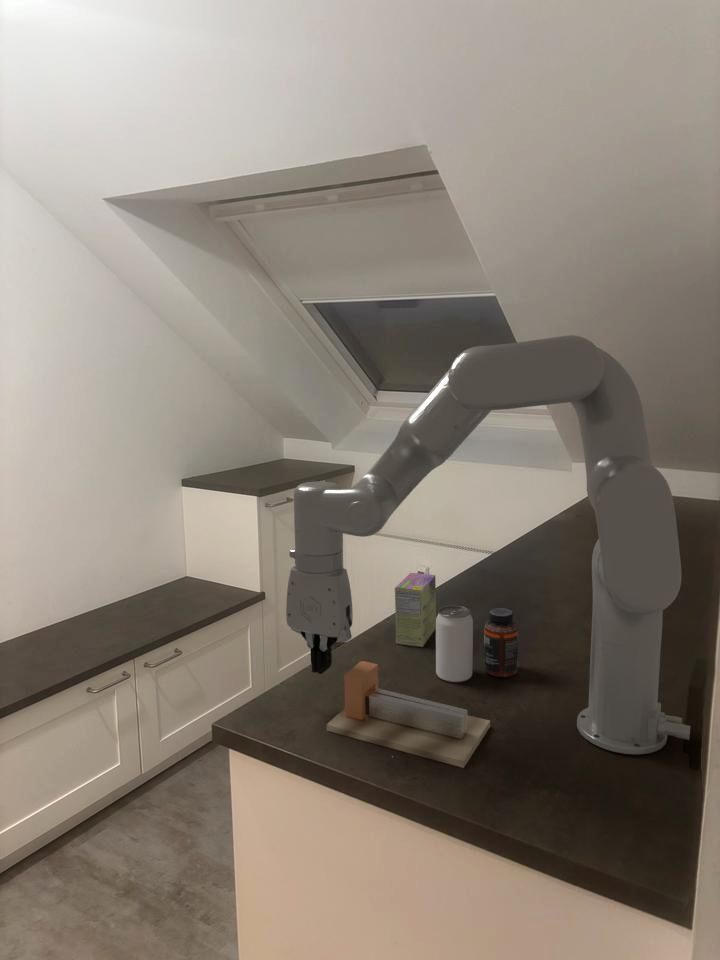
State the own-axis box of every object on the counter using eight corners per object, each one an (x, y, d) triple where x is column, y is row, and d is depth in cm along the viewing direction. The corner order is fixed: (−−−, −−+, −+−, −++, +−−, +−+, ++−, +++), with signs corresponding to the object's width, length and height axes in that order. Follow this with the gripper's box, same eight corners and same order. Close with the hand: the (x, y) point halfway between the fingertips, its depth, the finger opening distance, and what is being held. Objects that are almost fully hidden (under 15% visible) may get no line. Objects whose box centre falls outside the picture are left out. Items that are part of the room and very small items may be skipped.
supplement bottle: (522, 668, 124) (524, 609, 122) (510, 681, 119) (511, 620, 117) (491, 661, 127) (492, 603, 125) (478, 673, 123) (479, 613, 121)
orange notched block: (345, 715, 107) (344, 675, 105) (362, 699, 112) (361, 660, 110) (362, 720, 105) (361, 679, 104) (378, 703, 110) (377, 664, 109)
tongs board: (326, 730, 105) (326, 709, 104) (363, 696, 115) (362, 676, 115) (463, 768, 95) (463, 744, 94) (490, 726, 105) (490, 705, 104)
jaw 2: (373, 711, 108) (373, 691, 107) (377, 708, 109) (377, 688, 108) (464, 734, 100) (464, 713, 100) (467, 731, 101) (467, 709, 101)
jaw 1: (369, 716, 106) (369, 695, 106) (372, 712, 107) (372, 692, 107) (461, 739, 99) (461, 717, 99) (464, 735, 100) (464, 713, 100)
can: (428, 675, 122) (428, 611, 120) (451, 663, 127) (451, 601, 125) (457, 687, 118) (457, 621, 116) (479, 674, 122) (480, 610, 120)
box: (410, 625, 145) (409, 571, 143) (436, 628, 143) (436, 574, 141) (394, 644, 136) (394, 587, 134) (422, 648, 134) (422, 590, 132)
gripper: (266, 560, 108) (269, 669, 111) (349, 574, 101) (350, 689, 104) (292, 548, 114) (295, 652, 118) (372, 560, 107) (373, 670, 111)
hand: (321, 669), depth 111 cm, fingers closed
